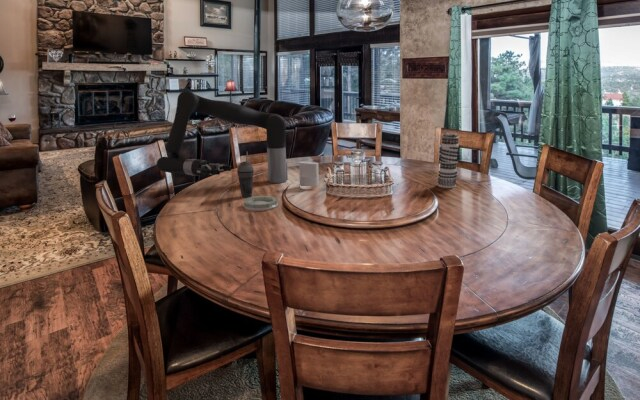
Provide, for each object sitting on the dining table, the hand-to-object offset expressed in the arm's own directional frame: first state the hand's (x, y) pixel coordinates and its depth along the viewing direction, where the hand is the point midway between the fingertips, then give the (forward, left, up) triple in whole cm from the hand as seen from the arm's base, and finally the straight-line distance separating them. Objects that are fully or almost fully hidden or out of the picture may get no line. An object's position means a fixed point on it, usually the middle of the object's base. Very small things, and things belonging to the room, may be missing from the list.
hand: (225, 170), depth 196 cm
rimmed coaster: (+6, +26, -11) cm, 28 cm away
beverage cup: (-2, +11, -11) cm, 15 cm away
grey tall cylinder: (-68, +79, -11) cm, 104 cm away
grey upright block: (-30, +25, -11) cm, 40 cm away
